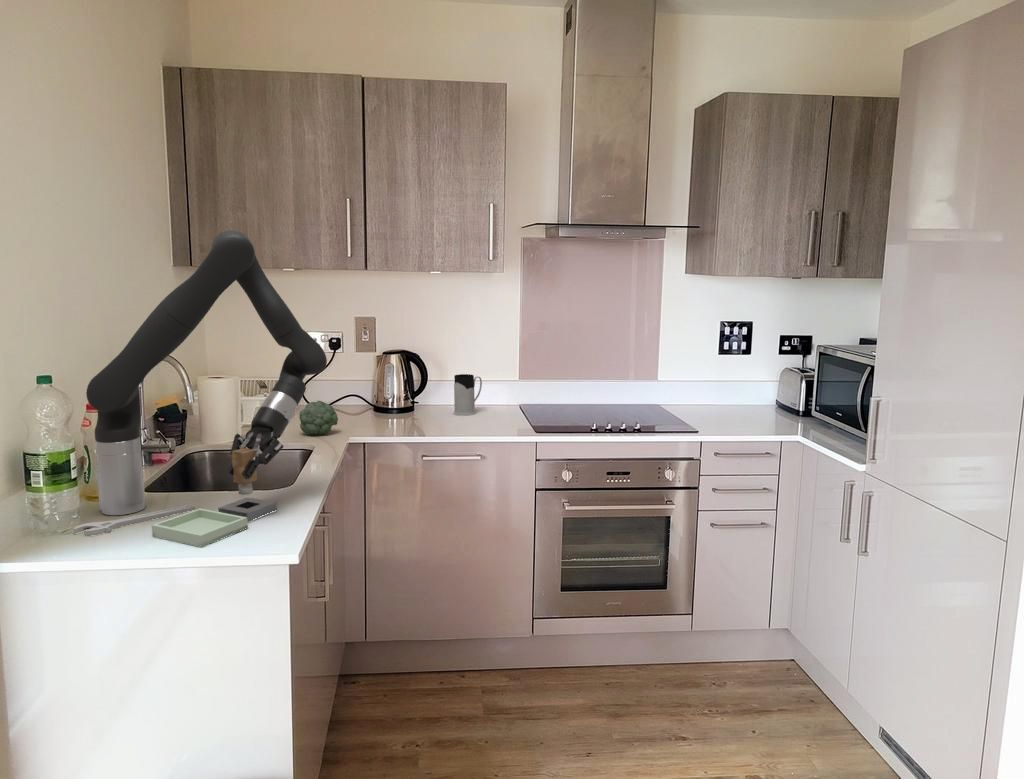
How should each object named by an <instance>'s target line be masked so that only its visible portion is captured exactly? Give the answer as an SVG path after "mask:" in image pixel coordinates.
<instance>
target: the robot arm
mask: <svg viewBox="0 0 1024 779" xmlns="http://www.w3.org/2000/svg"><path fill="white" fill-rule="evenodd" d="M235 281H236V282H237V283H238V284H239V286H240V287H241V288H242V289H243V292H244V293H245V294H246V296H247V298H248V300H249V301H250V302H251V304H252V306H253V308H254V309H255V312H256V314H257V315H258V317H259V318H260V320H261V321H262V323H263V325H264V326H265V327H266V329H267V331H268V332H269V334H270V335H271V337H272V338H273V339H274V342H276V344H278V346H280V347H282V348H286V349H290V350H291V351H290V352H289V353H288V354H287V355H286V357H285V359H284V361H283V363H282V367H281V370H280V374H279V378H278V380H277V381H276V383H275V384H274V386H273V387H272V389H271V391H270V393H269V394H267V396H266V398H265V399H264V400H263V402H262V403H261V406H260V407H259V409H257V412H256V413H255V415H254V417H253V418H252V420H251V424H250V425H251V427H250V429H249V430H247V432H246V433H245V434H242V435H240V433H236V434H235V435H234V437H233V442H232V445H231V449H230V455H231V456H232V451H235V450H239V449H244V448H247V449H253V450H254V453H253V455H252V457H251V461H249V462H248V464H247V466H246V467H245V469H244V470H243V472H242V476H243V477H244V478H245V479H250V477H251V476H252V475H253V474H254V472H255V470H257V469H258V467H260V466H261V465H262V464H263V465H264V466H266V465H268V464H269V463H270V462H271V461H272V460H273V459H274V458H275V457H276V455H278V454H279V452H280V451H282V450H283V448H284V445H283V444H282V442H280V441H279V439H280V438H282V435H283V434H284V433H285V432H284V431H285V429H286V428H287V427H288V425H289V424H290V421H291V420H292V418H293V417H294V415H295V412H296V409H297V407H298V405H299V404H300V402H301V400H302V398H303V397H304V394H305V392H306V389H307V387H306V383H305V382H304V379H305V377H306V376H310V375H311V376H312V375H317V374H320V373H323V372H324V370H325V369H326V368H327V364H328V359H327V355H326V353H325V350H324V349H323V347H322V346H321V344H319V343H318V342H317V340H315V339H314V338H313V337H312V336H311V335H310V334H309V333H308V332H306V330H305V329H303V328H302V326H301V325H300V323H299V321H298V320H297V318H296V317H295V315H294V314H293V313H292V311H291V310H290V308H289V306H288V305H287V303H286V302H285V301H284V299H282V298H283V297H281V296H280V294H279V293H278V291H277V290H276V289H275V287H273V285H272V283H271V282H270V280H269V279H268V277H267V276H266V274H265V272H264V270H263V269H262V267H261V265H260V263H259V261H258V258H257V256H256V252H255V247H254V245H253V243H252V242H251V240H250V238H249V237H248V236H247V235H245V234H244V233H242V232H241V231H238V230H229V229H228V230H224V231H221V232H220V233H218V234H217V235H216V236H215V238H214V239H213V241H212V244H211V249H210V251H209V253H207V256H206V257H205V259H204V260H203V261H202V262H201V264H200V265H199V266H198V268H197V269H196V270H195V271H194V273H192V275H190V277H188V278H187V279H186V280H185V281H183V282H182V283H181V284H179V285H178V286H177V287H176V288H174V289H173V290H172V291H171V292H170V293H169V294H167V296H165V297H164V298H163V299H162V300H161V301H160V302H159V303H158V304H157V306H155V308H154V309H153V310H152V311H151V312H150V314H149V315H148V316H147V318H146V319H145V320H144V321H143V323H142V324H141V325H140V326H139V328H138V329H137V331H135V333H134V334H133V336H132V337H131V338H130V339H129V341H128V342H127V344H126V345H125V346H124V348H123V349H122V350H121V351H120V353H119V354H117V356H115V357H114V358H113V359H112V360H111V361H110V362H109V363H108V364H107V365H106V366H105V367H104V368H102V369H101V370H100V371H99V372H98V373H97V374H96V375H95V376H93V378H91V380H89V382H88V385H87V388H86V392H85V393H86V400H87V402H88V404H89V405H90V406H91V408H93V409H94V410H96V411H97V419H96V424H95V428H94V439H95V451H96V452H95V453H96V459H97V471H96V472H95V474H96V475H95V476H96V485H97V494H98V495H97V496H98V503H99V504H98V506H99V511H101V513H102V514H103V515H107V516H122V515H128V514H133V513H138V512H141V511H143V510H144V509H145V508H146V496H145V480H144V470H143V468H144V467H143V460H142V459H143V458H142V457H143V455H142V449H141V447H142V446H141V436H140V434H141V433H140V429H141V428H140V426H141V421H142V420H141V419H142V417H141V415H142V414H141V397H140V390H139V389H140V387H139V386H140V384H141V383H142V382H143V380H144V379H145V378H146V377H147V376H148V374H149V373H150V372H151V371H152V370H153V369H154V368H155V367H156V366H157V365H159V364H160V363H161V362H162V361H163V360H165V359H166V358H167V357H169V356H170V355H171V354H172V353H173V352H174V351H175V350H176V349H178V348H179V347H180V345H182V344H183V343H184V341H185V340H186V339H187V338H188V337H190V334H192V332H193V331H194V330H195V329H196V328H197V326H198V325H199V324H200V323H201V322H202V320H204V318H205V316H206V315H207V314H208V313H209V312H210V310H211V308H212V307H213V306H214V304H215V302H217V300H218V299H219V297H220V296H221V295H223V293H224V292H225V291H226V290H227V289H228V288H229V287H230V286H232V285H233V283H234V282H235ZM267 455H268V456H267ZM227 472H228V474H229V475H230V476H231V477H233V463H231V464H230V466H229V467H228V471H227Z"/></svg>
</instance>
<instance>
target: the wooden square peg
mask: <svg viewBox="0 0 1024 779" xmlns="http://www.w3.org/2000/svg"><path fill="white" fill-rule="evenodd" d="M253 453H254V450H253V449H248V448H247V447H246V448H244V449H239V450H235V451H232V455H231V457H232V461H231V462H232V463H233V476H232V477H233V478H232V479H233V483H238V494H239V495H242V496H245V495H251V494H253V492H254V490H253V482H256V481H258V477H257V476H258V474H257V472H258V471H257V469H256V470H255V472H254V474H253V475H252V476H251V477H250V479H245V478H244V477H243V476H242V472H243V470H244V469H245V467H246V466H247V464H248V462H249V461H251V457H252V455H253ZM232 463H231V464H232Z"/></svg>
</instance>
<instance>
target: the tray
mask: <svg viewBox="0 0 1024 779" xmlns="http://www.w3.org/2000/svg"><path fill="white" fill-rule="evenodd" d="M245 528H248V529H249V523H248V520H247V517H242V516H237V515H232V514H227V513H222V512H219V511H217V510H211V509H206V508H200V507H199V508H198V509H197V508H196V509H195V510H194V511H191V512H187V513H182V514H178V515H175V516H174V517H171V518H169V519H165V520H163V521H159V522H156V523H154V524H151V535H152V537H154V538H158V539H164V540H166V539H167V541H171V540H172V541H171V542H175V541H176V542H175V543H180V542H181V543H180V544H184V543H185V545H188V544H189V545H190V546H193V547H197V546H198V548H203V546H204V547H205V546H208V545H210V543H211V544H213V543H216V542H218V541H220V540H219V539H221V538H223V539H225V538H224V537H226V536H228V537H230V536H229V535H231V534H233V533H236V532H238V531H240V530H243V529H245ZM243 531H244V530H243ZM238 533H239V532H238ZM236 534H237V533H236ZM233 535H234V534H233ZM231 536H232V535H231ZM226 538H227V537H226ZM217 540H218V541H217ZM221 540H222V539H221ZM215 541H216V542H215Z"/></svg>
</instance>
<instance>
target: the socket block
mask: <svg viewBox="0 0 1024 779" xmlns="http://www.w3.org/2000/svg"><path fill="white" fill-rule="evenodd" d="M275 510H277V511H278V504H277V502H276V501H270V500H265V499H261V498H255V497H249V496H248V497H245V498H243V499H239V500H236V501H234V502H230V503H228V504H225V505H223V506H220V507H218V510H217V512H222V513H227V514H232V515H237V516H242V517H247V520H248V522H249V521H251V520H253V519H255V518H258V517H260V516H262V515H265V514H267V513H270V512H272V511H275ZM249 523H250V522H249Z"/></svg>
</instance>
